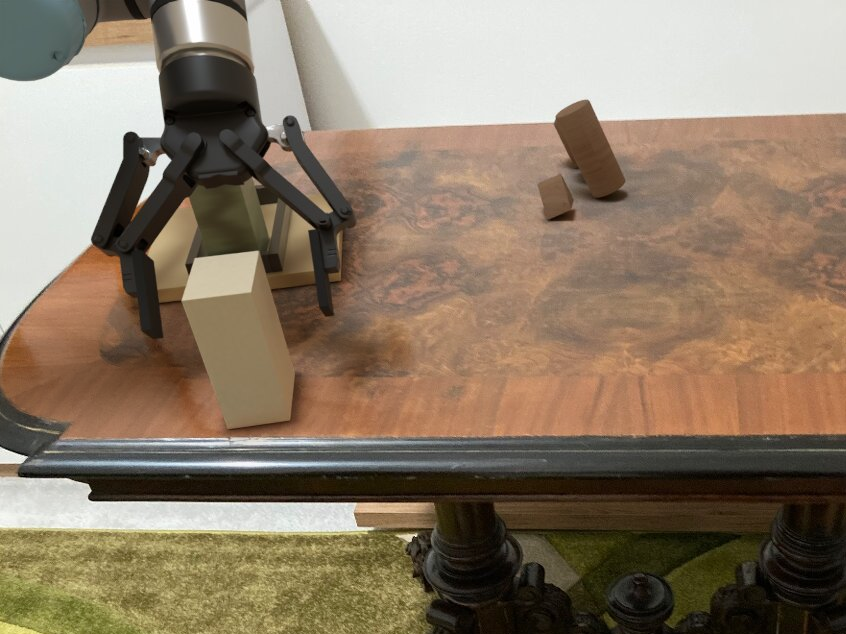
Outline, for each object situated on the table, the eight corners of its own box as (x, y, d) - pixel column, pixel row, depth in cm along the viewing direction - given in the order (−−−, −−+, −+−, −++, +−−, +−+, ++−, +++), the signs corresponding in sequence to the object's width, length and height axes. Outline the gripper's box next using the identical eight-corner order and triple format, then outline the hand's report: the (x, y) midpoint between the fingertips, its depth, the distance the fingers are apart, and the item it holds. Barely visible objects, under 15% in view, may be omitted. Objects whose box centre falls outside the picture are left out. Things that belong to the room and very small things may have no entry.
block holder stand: (137, 305, 92) (85, 175, 83) (169, 221, 107) (128, 104, 99) (341, 280, 94) (310, 152, 86) (344, 202, 110) (318, 86, 101)
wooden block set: (569, 177, 119) (533, 103, 114) (630, 150, 117) (596, 73, 111) (554, 233, 105) (511, 151, 100) (623, 204, 102) (583, 118, 97)
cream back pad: (227, 429, 75) (181, 300, 68) (236, 382, 81) (194, 257, 73) (290, 420, 76) (251, 292, 68) (295, 374, 81) (259, 250, 74)
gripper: (366, 83, 81) (401, 314, 79) (68, 112, 78) (97, 355, 76) (353, 35, 74) (392, 289, 72) (24, 65, 71) (55, 332, 69)
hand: (240, 323), depth 74 cm, fingers open, 13 cm apart
